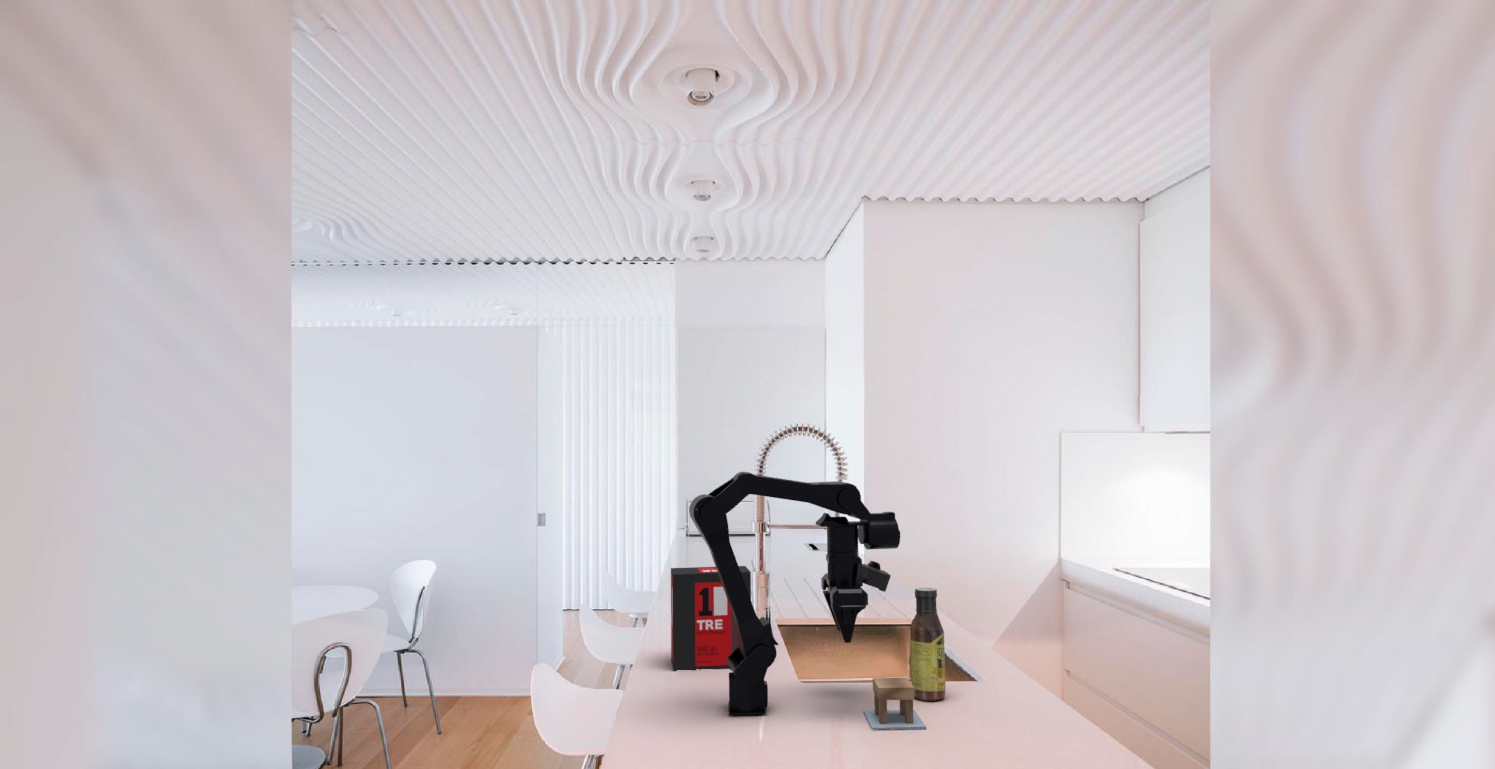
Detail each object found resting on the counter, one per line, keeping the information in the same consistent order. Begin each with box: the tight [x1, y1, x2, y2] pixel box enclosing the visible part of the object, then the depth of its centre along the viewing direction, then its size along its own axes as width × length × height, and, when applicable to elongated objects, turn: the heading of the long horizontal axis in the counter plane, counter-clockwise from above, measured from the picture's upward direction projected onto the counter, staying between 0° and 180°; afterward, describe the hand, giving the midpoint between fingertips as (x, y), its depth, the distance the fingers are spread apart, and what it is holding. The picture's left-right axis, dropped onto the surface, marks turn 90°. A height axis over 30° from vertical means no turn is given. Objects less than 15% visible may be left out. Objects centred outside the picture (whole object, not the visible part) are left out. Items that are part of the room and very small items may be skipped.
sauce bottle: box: [909, 587, 946, 702], centre depth 161 cm, size 6×6×20 cm
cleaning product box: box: [670, 565, 752, 672], centre depth 186 cm, size 16×9×20 cm, turn 98°
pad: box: [863, 709, 927, 730], centre depth 148 cm, size 9×9×1 cm
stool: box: [872, 677, 915, 724], centre depth 148 cm, size 6×6×6 cm
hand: (844, 636), depth 158 cm, fingers open, 9 cm apart
